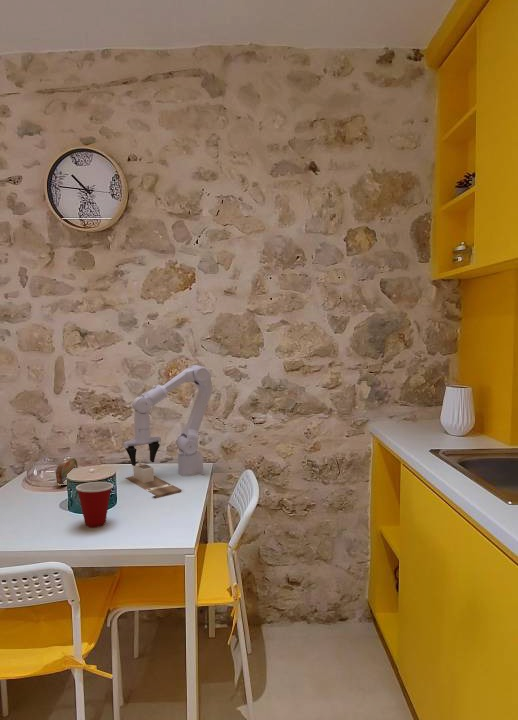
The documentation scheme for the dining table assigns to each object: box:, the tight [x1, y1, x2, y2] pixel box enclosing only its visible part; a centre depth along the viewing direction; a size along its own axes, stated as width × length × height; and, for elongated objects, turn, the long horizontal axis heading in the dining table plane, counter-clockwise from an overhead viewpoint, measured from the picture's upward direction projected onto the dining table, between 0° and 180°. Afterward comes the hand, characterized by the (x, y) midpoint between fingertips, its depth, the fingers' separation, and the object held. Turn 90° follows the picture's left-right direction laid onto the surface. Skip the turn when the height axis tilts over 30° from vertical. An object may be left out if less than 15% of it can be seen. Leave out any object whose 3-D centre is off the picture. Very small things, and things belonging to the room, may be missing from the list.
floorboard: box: [125, 475, 182, 499], centre depth 186 cm, size 10×26×1 cm, turn 39°
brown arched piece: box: [55, 458, 79, 484], centre depth 191 cm, size 15×3×8 cm, turn 179°
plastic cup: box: [75, 481, 114, 528], centre depth 151 cm, size 11×11×12 cm
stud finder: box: [132, 462, 155, 483], centre depth 191 cm, size 4×9×5 cm, turn 38°
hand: (142, 463), depth 191 cm, fingers open, 7 cm apart
